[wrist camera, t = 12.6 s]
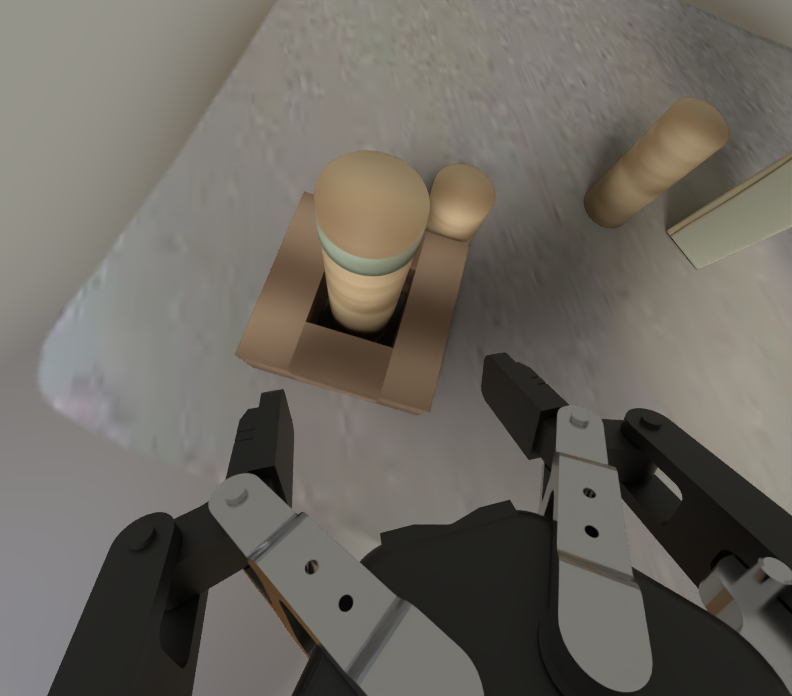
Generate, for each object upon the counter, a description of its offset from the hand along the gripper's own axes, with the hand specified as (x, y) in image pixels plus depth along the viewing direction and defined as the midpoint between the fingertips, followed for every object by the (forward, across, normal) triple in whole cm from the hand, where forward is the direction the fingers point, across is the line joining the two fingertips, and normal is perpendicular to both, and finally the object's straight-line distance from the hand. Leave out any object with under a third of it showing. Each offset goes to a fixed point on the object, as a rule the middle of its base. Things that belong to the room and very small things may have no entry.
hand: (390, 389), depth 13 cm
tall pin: (+11, 0, +2) cm, 11 cm away
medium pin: (+15, -22, -3) cm, 27 cm away
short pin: (+14, -8, -2) cm, 16 cm away
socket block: (+11, 0, +2) cm, 11 cm away
